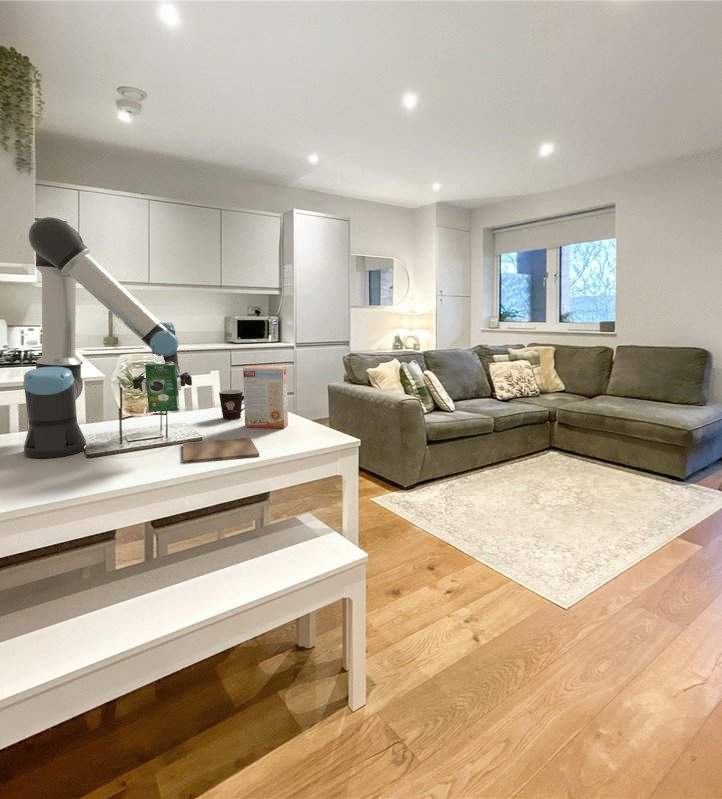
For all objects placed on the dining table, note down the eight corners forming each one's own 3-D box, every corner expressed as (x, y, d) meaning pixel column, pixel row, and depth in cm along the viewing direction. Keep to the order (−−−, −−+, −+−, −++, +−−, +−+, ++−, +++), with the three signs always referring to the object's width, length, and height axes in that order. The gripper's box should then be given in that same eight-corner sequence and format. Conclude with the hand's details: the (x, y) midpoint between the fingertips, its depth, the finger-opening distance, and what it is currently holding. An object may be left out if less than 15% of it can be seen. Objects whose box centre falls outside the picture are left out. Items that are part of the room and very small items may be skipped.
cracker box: (288, 424, 176) (287, 366, 173) (284, 429, 170) (283, 368, 167) (250, 423, 178) (248, 365, 174) (244, 427, 172) (242, 367, 168)
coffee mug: (215, 419, 183) (214, 392, 182) (228, 414, 191) (227, 389, 190) (243, 421, 180) (242, 394, 178) (254, 417, 188) (254, 391, 186)
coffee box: (181, 409, 140) (177, 362, 137) (178, 411, 137) (174, 364, 134) (151, 410, 139) (146, 363, 136) (148, 412, 136) (143, 364, 133)
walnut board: (183, 463, 132) (183, 460, 132) (182, 445, 149) (182, 442, 149) (259, 456, 139) (259, 453, 139) (250, 440, 156) (250, 437, 156)
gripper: (201, 384, 157) (203, 397, 136) (129, 389, 150) (119, 403, 129) (199, 361, 155) (201, 370, 134) (127, 365, 149) (116, 375, 128)
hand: (161, 386), depth 132 cm, fingers closed on coffee box, 8 cm apart
